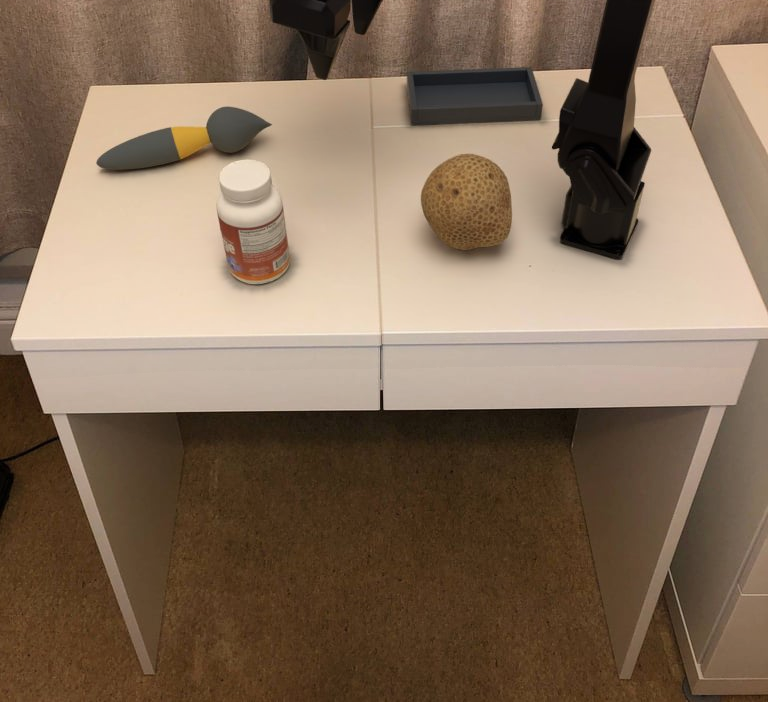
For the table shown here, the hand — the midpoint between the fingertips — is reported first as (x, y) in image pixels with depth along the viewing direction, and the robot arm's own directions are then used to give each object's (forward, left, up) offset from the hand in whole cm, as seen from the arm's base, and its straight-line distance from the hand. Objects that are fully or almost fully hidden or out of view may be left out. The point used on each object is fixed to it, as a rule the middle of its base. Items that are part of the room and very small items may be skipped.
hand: (341, 55), depth 86 cm
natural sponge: (-16, +5, -15) cm, 22 cm away
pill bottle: (+1, +17, -15) cm, 22 cm away
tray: (-7, -19, -14) cm, 25 cm away
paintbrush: (+18, +5, -15) cm, 24 cm away
